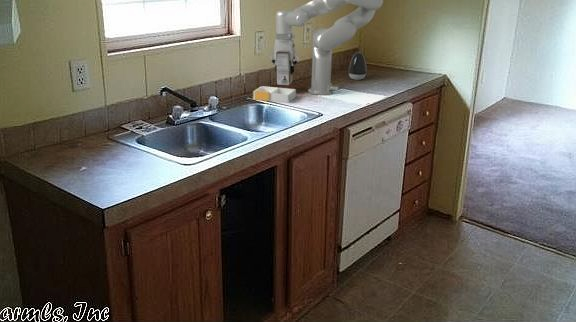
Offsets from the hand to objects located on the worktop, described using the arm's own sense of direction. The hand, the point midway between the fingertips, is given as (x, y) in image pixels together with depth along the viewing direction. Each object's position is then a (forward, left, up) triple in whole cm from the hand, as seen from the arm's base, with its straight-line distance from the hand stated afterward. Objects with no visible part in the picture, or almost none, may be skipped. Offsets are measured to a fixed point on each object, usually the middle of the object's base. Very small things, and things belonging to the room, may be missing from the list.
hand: (284, 73), depth 269 cm
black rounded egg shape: (-29, -46, -10) cm, 55 cm away
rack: (+1, +13, -10) cm, 17 cm away
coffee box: (0, 0, -5) cm, 5 cm away
